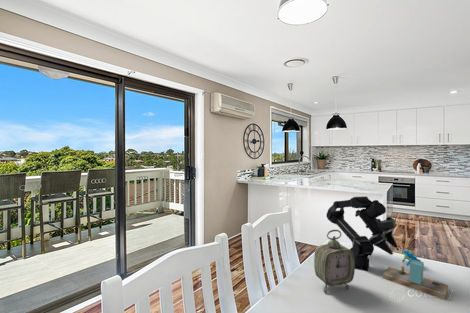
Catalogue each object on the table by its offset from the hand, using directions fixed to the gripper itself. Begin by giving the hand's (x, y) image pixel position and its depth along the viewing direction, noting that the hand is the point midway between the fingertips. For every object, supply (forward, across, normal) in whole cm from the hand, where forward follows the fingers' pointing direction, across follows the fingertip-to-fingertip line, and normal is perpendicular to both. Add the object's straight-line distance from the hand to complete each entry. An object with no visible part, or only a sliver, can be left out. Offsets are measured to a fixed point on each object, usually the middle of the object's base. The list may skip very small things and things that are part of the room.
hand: (394, 250), depth 114 cm
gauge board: (+15, 0, +3) cm, 15 cm away
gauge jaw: (+13, 0, 0) cm, 13 cm away
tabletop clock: (-2, -28, +21) cm, 35 cm away
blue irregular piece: (+13, +22, +6) cm, 26 cm away
